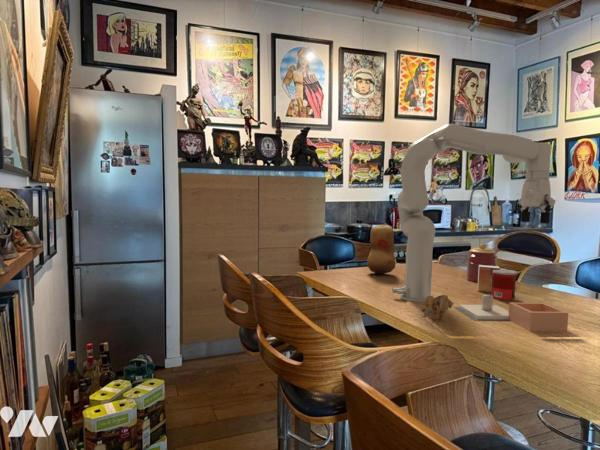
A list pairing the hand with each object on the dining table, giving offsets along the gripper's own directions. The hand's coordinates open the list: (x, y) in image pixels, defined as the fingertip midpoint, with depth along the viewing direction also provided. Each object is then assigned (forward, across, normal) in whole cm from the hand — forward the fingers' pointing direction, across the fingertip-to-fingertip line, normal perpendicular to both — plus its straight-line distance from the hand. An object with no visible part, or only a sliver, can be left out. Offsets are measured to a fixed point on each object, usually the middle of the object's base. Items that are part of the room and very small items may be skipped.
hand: (534, 222), depth 150 cm
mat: (+30, +16, -29) cm, 45 cm away
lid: (+29, +16, -29) cm, 44 cm away
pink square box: (+30, +29, -22) cm, 47 cm away
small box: (+30, -18, -6) cm, 35 cm away
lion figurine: (+30, +18, -48) cm, 60 cm away
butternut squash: (+30, -57, -38) cm, 75 cm away
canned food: (+30, -3, -10) cm, 32 cm away
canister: (+30, -38, +5) cm, 49 cm away
